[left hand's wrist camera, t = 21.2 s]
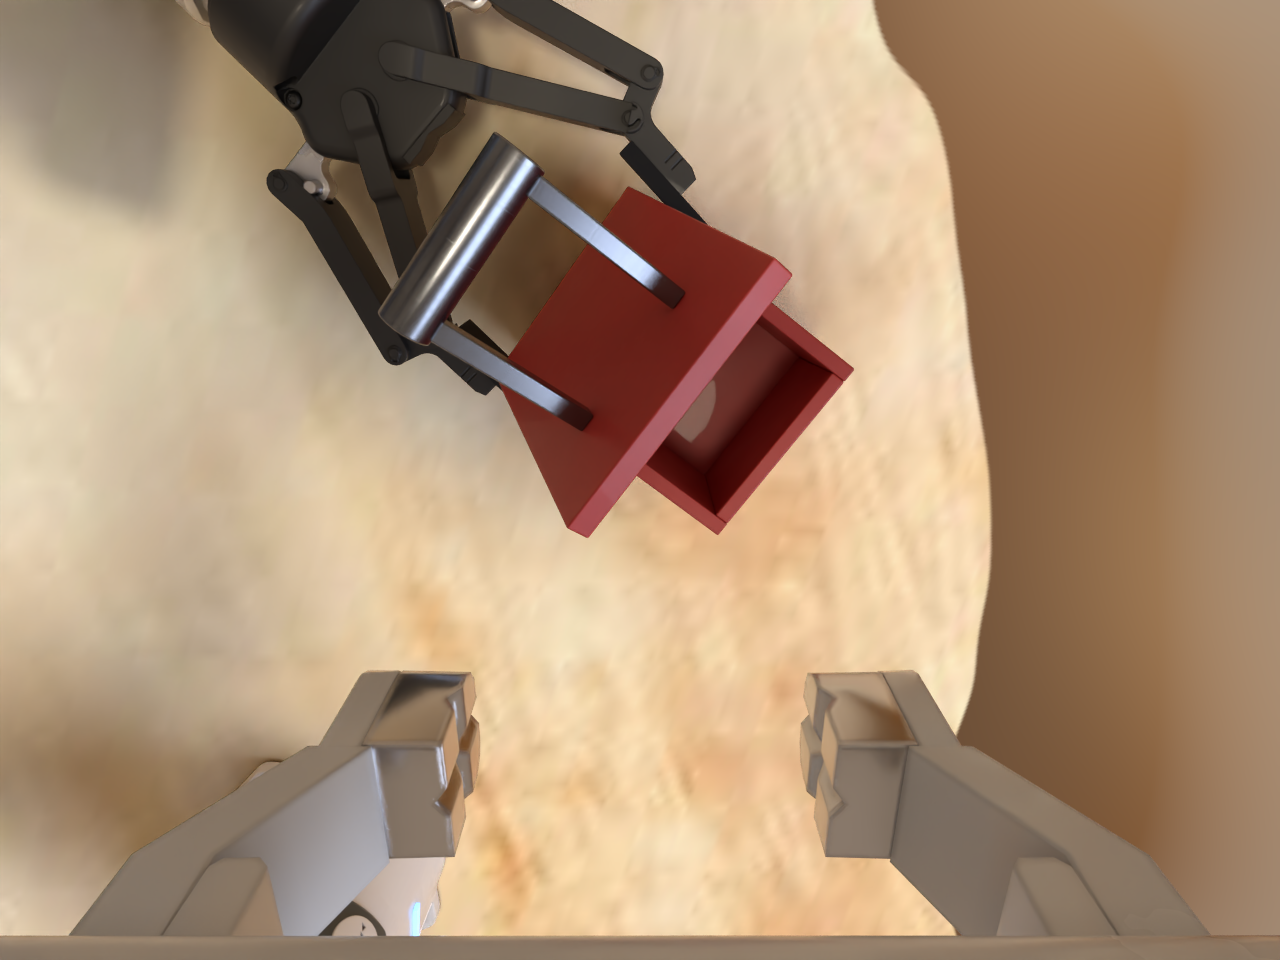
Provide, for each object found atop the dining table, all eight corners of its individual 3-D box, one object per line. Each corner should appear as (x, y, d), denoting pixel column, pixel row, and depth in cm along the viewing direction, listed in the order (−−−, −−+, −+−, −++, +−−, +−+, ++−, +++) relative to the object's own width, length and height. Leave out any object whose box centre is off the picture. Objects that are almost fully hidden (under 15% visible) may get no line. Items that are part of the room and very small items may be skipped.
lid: (794, 275, 21) (570, 66, 17) (588, 539, 24) (340, 416, 19) (642, 198, 32) (480, 59, 28) (510, 384, 34) (340, 282, 30)
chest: (814, 353, 43) (855, 369, 34) (705, 488, 45) (717, 535, 36) (638, 213, 41) (635, 193, 32) (533, 361, 43) (504, 378, 34)
